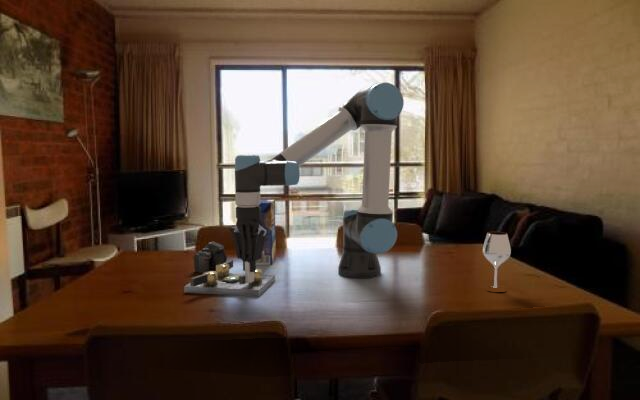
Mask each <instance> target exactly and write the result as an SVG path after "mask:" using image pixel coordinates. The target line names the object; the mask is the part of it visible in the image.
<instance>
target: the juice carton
mask: <svg viewBox="0 0 640 400" xmlns="http://www.w3.org/2000/svg"><path fill="white" fill-rule="evenodd" d="M260 203H261V204H260V205H258V206H260V207H261V218H260V223H261V227H263V228H264V229H267V230H268V233H267V235H266V236H265V241H264V246H263V252H262V257H261V259H259V260H256V266H272V265H273V263H274V262H275V260H276V258H277V256H276V255H277V254H276V253H277V251H276V246H277V245H276V243H277V242H276V199H260ZM258 232H259V231H258ZM258 235H259V234H258V233H257V237H258ZM256 242H257V239H256Z"/></svg>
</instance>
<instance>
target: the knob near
mask: <svg viewBox="0 0 640 400" xmlns="http://www.w3.org/2000/svg"><path fill="white" fill-rule="evenodd" d="M189 283H190V286H193V287H194V286H197V285H200V284H203V283H204V284H205V285H213V284H217V283H218V272H216V270H210V271H208V272H204V273H201V274H200V275H196V276H193V277H190V278H189Z"/></svg>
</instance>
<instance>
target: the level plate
mask: <svg viewBox="0 0 640 400" xmlns="http://www.w3.org/2000/svg"><path fill="white" fill-rule="evenodd" d="M243 274H244V273H240V272H239V273H238V272H237V273H235V272H229V275H228V276H224V277H219V276H218V283H217V284H213V285H205V284H204V283H203V284H200V285H197V286H194V287H193V286H190V282H189V283H187V284H186V285H185V286H183V289H184V294H186V293H187V294H202V295H203V294H204V295H205V294H206V295H219V296H220V295H222V296H223V295H224V296H241V297H242V296H243V297H258V298H259V297H260V296H261V295H262V294H263V293H264V292H265V291H266V290H268V288H270V286H271V285H272V284H274V282H276V275H275V274H263V273H262V281H261V282H251V283H245V284H239V276H241V275H243Z"/></svg>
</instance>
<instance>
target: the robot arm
mask: <svg viewBox="0 0 640 400" xmlns="http://www.w3.org/2000/svg"><path fill="white" fill-rule="evenodd" d="M404 103H405V102H404V97H403V93H402V91H401V90H400V89H399V88H398V87H397V86H396V85H395V84H393V83H390V82H376V83H374V84H371V85H370V86H367V87H364V88H362V89H359V90H358V91H357V92H356V93H355V94H354V95H353V96H352V97H351V98H349V99H348V100H347V101H346V102H345V103H343V104H342V105H340V106H339V107H338V111H337V112H336V113H334V114H333V115H331V116H330V117H328V118H327V119H326V120H325V121H323V122H322V123H320V124H319V125H317V126H316V127H315V128H313V129H312V130H310V131H309V132H308V133H306V134H305V135H303V136H302V137H301V138H299V139H298V140H296V141H295V142H294V143H292V144H291V145H289V146H288V147H287V148H285V149H284V150H282V151H281V152H279V153H278V154H277V155H275V156H274V157H273V158H271V159H268V160H266V161H264V160H263V161H262V160H261V157H260V155H259V154H239V155H237V156H236V157H235V158H234V186H235V187H234V188H235V190H234V192H235V195H234V196H235V197H234V200H235V205H236V207H235V218H236V223H235V225H234V226H233V227H230V228H229V231H230V233H231V234H232V240H233V243H234V248H235V253H236V257H237V259H240V260H241V261H242V271H243V272H244V274H245V283H251V282H253V281H254V271H256V269H257V267H256V266H257V265H256V260H259V259H261V257H262V252H263V246H264V241H265V236H266V235H267V233H268V230H267V229H264V228H263V227H261V223H260V218H261V207H260V206H258V205H260V204H261V203H260V200H261V187H266V186H269V187H270V186H271V187H272V186H273V187H274V186H276V187H279V186H286V187H289V186H296V185H298V184H299V183H300V175H301V173H300V171H301V170H300V167H301V166H302V165H305V163H307V162H308V161H309V160H311V159H312V158H314V157H315V156H317V155H318V154H320V152H322V151H324V150H325V149H326V148H328V147H329V146H330V145H332V144H333V143H334V142H335V143H336V141H337V140H339V139H340V138H342V137H343V136H345V135H346V134H347V133H349V132H350V131H356V130H358V129H359V128H362V129H363V131H364V144H363V145H364V149H363V150H364V151H363V170H362V171H363V173H362V174H363V175H362V194H361V198H362V199H361V205H360V207H358V208H357V209H346V210H344V211H343V217H342V221H343V222H342V223H343V224H342V225H343V226H342V230H343V231H342V235H343V236H342V238H343V239H342V241H343V244H342V248H343V250H342V254H341V258H340V260H339V264H338V268H337V269H338V271H337V272H338V274H339V275H341V276H343V277H347V278H352V279H369V278H375V277H378V276H379V275H381V273H382V271H381V267H382V266H381V263H380V260H379V258H378V255H380V254H384V253H386V252H388V251H390V250H391V249H392V248H394V247H393V246H394V245H395V244H396V241H397V239H398V231H397V228H396V225H395V223H394V222H393V219H394V218H393V215H394V213H393V210H392V209H391V208H390V206H389V199H390V196H389V195H390V181H391V180H390V178H391V177H390V176H391V175H390V174H391V159H392V157H391V154H392V139H393V138H392V134H393V131H395V129H397V128H398V116H400V114H401V113H402V111H403V109H404V105H405V104H404ZM258 231H259V232H258ZM257 233H258V234H259V235H258V237H257ZM256 239H257V242H256Z"/></svg>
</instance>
